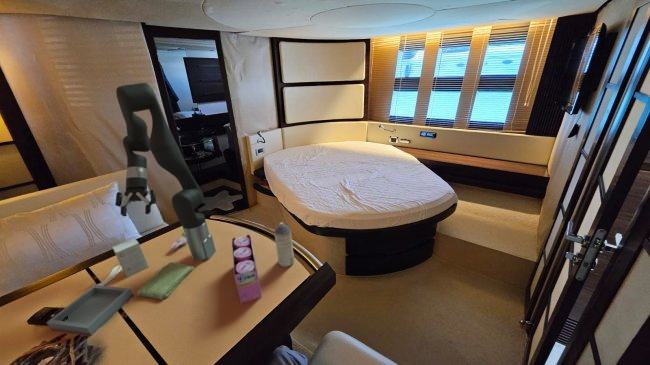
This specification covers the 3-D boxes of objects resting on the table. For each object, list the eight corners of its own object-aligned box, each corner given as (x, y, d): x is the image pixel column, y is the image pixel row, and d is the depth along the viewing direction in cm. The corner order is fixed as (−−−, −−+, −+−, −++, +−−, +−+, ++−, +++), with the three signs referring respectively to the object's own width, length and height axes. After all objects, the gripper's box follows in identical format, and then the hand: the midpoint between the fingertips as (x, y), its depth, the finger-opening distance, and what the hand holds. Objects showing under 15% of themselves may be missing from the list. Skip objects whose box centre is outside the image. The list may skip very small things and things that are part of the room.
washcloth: (196, 268, 107) (194, 262, 106) (165, 302, 92) (162, 296, 90) (170, 265, 110) (168, 259, 109) (135, 297, 94) (132, 291, 93)
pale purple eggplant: (187, 237, 131) (167, 251, 116) (185, 227, 129) (164, 240, 115) (198, 237, 130) (179, 252, 116) (196, 227, 129) (177, 240, 114)
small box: (144, 260, 113) (134, 237, 108) (149, 266, 109) (139, 242, 104) (123, 271, 107) (111, 246, 102) (127, 277, 103) (115, 252, 98)
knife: (127, 253, 117) (141, 254, 116) (128, 256, 118) (142, 257, 117) (54, 305, 90) (72, 307, 89) (56, 309, 90) (74, 310, 89)
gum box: (237, 262, 110) (231, 236, 104) (255, 257, 112) (250, 232, 107) (240, 304, 89) (233, 275, 84) (262, 297, 91) (257, 268, 86)
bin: (133, 295, 94) (130, 288, 93) (91, 335, 80) (87, 328, 79) (98, 291, 97) (94, 284, 96) (51, 329, 82) (46, 322, 81)
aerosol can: (294, 256, 112) (290, 218, 104) (293, 266, 105) (289, 227, 97) (279, 257, 111) (274, 219, 103) (277, 268, 105) (272, 228, 97)
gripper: (113, 177, 104) (111, 216, 101) (151, 175, 108) (151, 212, 104) (122, 181, 111) (121, 217, 108) (158, 179, 115) (158, 214, 112)
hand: (135, 215), depth 106 cm, fingers open, 8 cm apart
